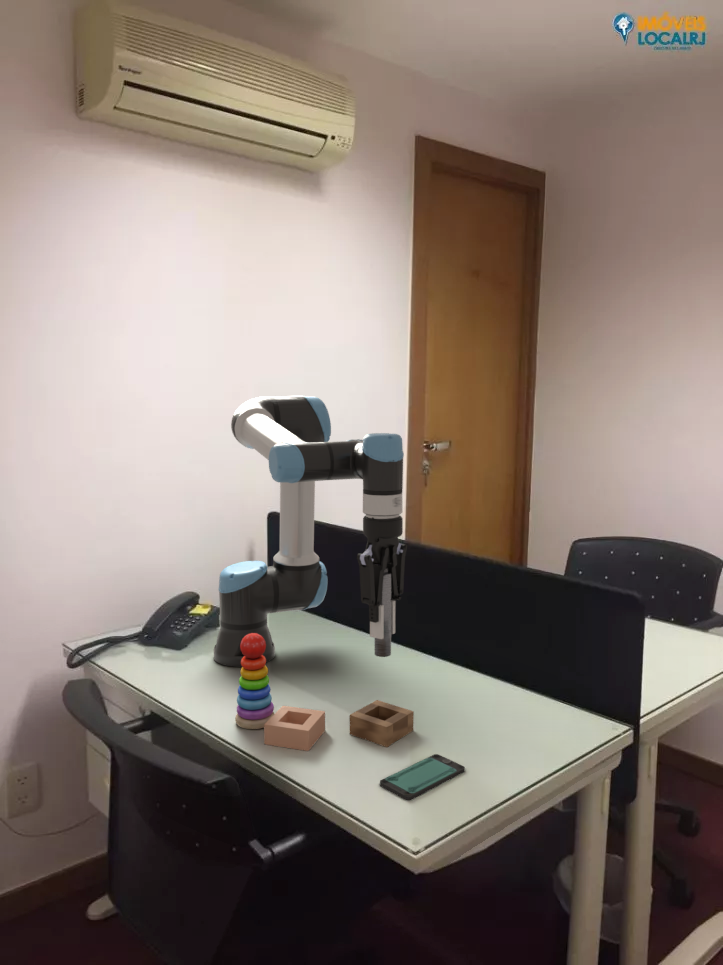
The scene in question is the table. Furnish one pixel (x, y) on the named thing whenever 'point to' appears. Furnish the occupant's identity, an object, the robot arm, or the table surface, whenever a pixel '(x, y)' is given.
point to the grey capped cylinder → (385, 618)
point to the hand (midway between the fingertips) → (382, 634)
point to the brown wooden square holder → (381, 723)
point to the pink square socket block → (294, 728)
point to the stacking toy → (253, 685)
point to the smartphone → (421, 777)
